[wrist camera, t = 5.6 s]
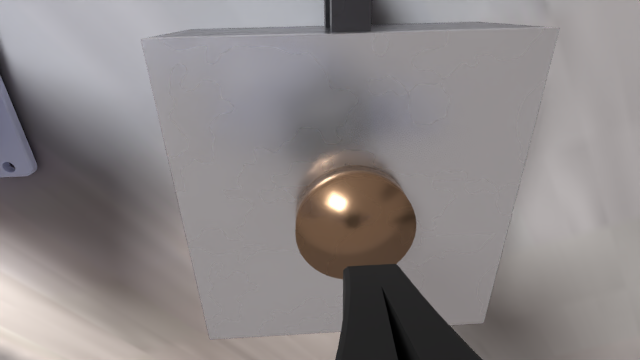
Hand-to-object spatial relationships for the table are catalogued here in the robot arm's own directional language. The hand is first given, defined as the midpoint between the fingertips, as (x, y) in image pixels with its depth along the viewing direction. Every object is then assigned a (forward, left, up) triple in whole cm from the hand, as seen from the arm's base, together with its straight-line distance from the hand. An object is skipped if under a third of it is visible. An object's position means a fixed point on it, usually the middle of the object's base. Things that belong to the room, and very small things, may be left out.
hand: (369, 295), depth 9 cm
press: (0, +1, -9) cm, 9 cm away
